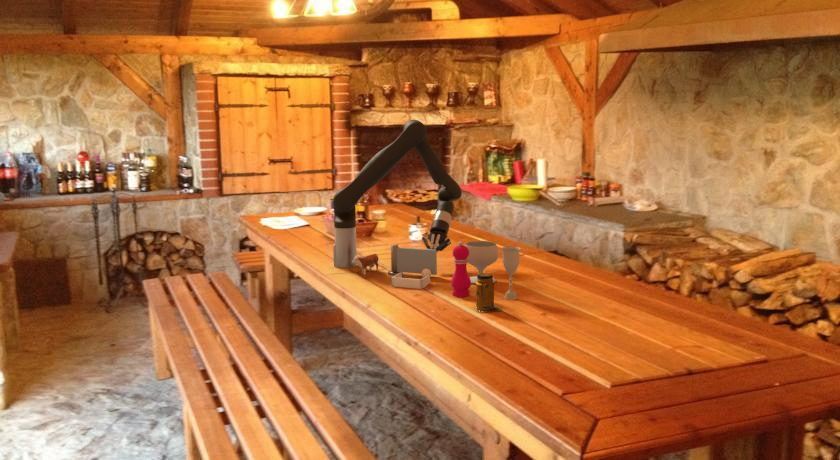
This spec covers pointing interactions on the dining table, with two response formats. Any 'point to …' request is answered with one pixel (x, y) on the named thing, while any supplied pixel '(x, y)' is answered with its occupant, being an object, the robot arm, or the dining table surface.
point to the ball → (425, 272)
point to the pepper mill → (461, 272)
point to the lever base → (392, 273)
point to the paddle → (413, 260)
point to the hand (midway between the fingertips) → (431, 258)
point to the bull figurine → (366, 262)
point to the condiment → (485, 293)
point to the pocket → (409, 281)
